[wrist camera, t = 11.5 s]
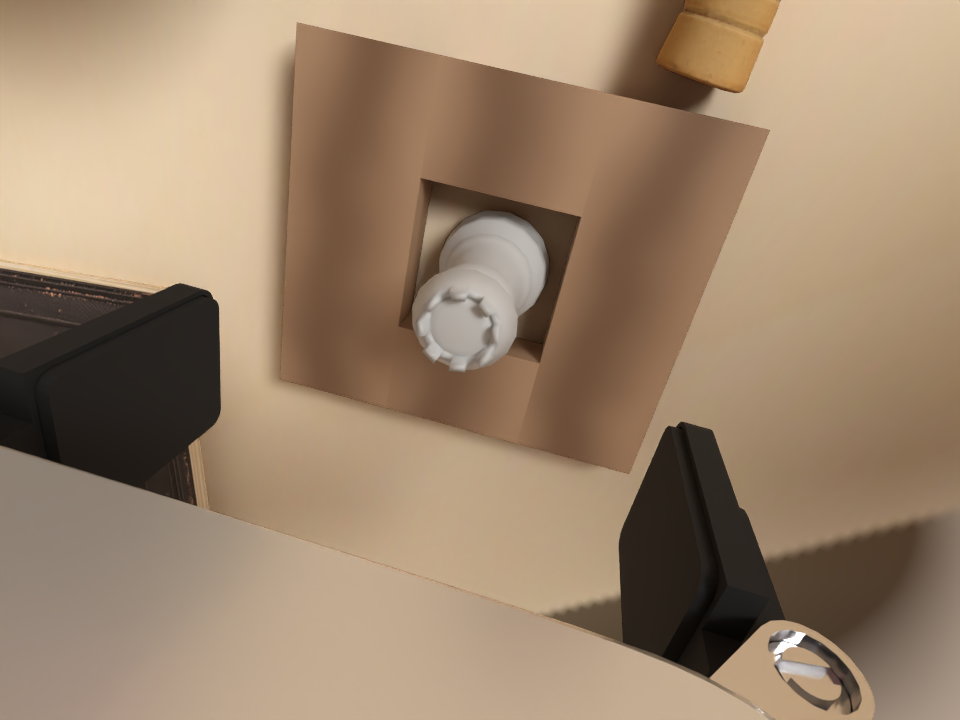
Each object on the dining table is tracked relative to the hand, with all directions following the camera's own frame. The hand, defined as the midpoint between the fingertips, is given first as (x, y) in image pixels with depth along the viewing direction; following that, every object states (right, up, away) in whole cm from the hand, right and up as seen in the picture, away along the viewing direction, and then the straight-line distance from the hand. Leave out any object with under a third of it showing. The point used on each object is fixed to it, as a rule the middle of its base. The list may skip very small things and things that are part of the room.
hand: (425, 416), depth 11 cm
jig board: (+2, +5, +12) cm, 13 cm away
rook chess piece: (+2, +5, +12) cm, 13 cm away
